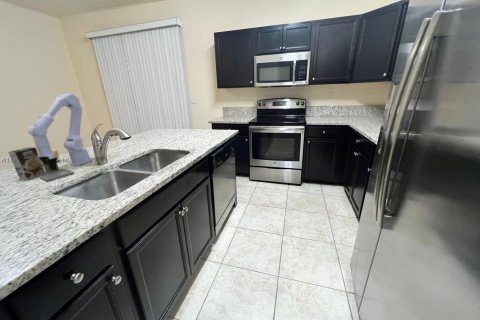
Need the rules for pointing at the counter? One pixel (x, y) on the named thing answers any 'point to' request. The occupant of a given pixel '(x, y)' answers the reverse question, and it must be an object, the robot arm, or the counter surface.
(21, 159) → the coffee box
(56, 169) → the letter cube
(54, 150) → the tan lumpy round piece
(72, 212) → the counter surface
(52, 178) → the slate gray tray
